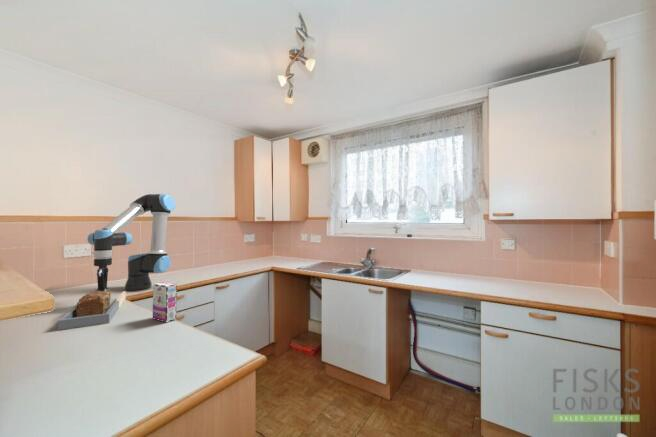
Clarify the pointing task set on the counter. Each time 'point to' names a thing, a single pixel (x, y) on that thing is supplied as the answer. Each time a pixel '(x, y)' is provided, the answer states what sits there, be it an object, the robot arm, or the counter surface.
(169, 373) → the counter surface
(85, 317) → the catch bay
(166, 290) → the candy bar box
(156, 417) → the counter surface
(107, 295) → the bread
